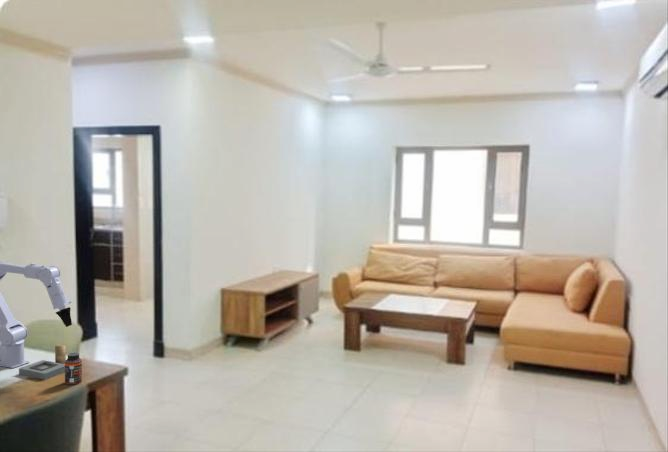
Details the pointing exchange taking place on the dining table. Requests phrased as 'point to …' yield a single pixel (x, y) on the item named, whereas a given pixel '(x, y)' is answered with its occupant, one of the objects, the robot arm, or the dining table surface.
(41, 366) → the pad
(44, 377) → the board
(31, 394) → the dining table surface
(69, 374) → the supplement bottle
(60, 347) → the peg
